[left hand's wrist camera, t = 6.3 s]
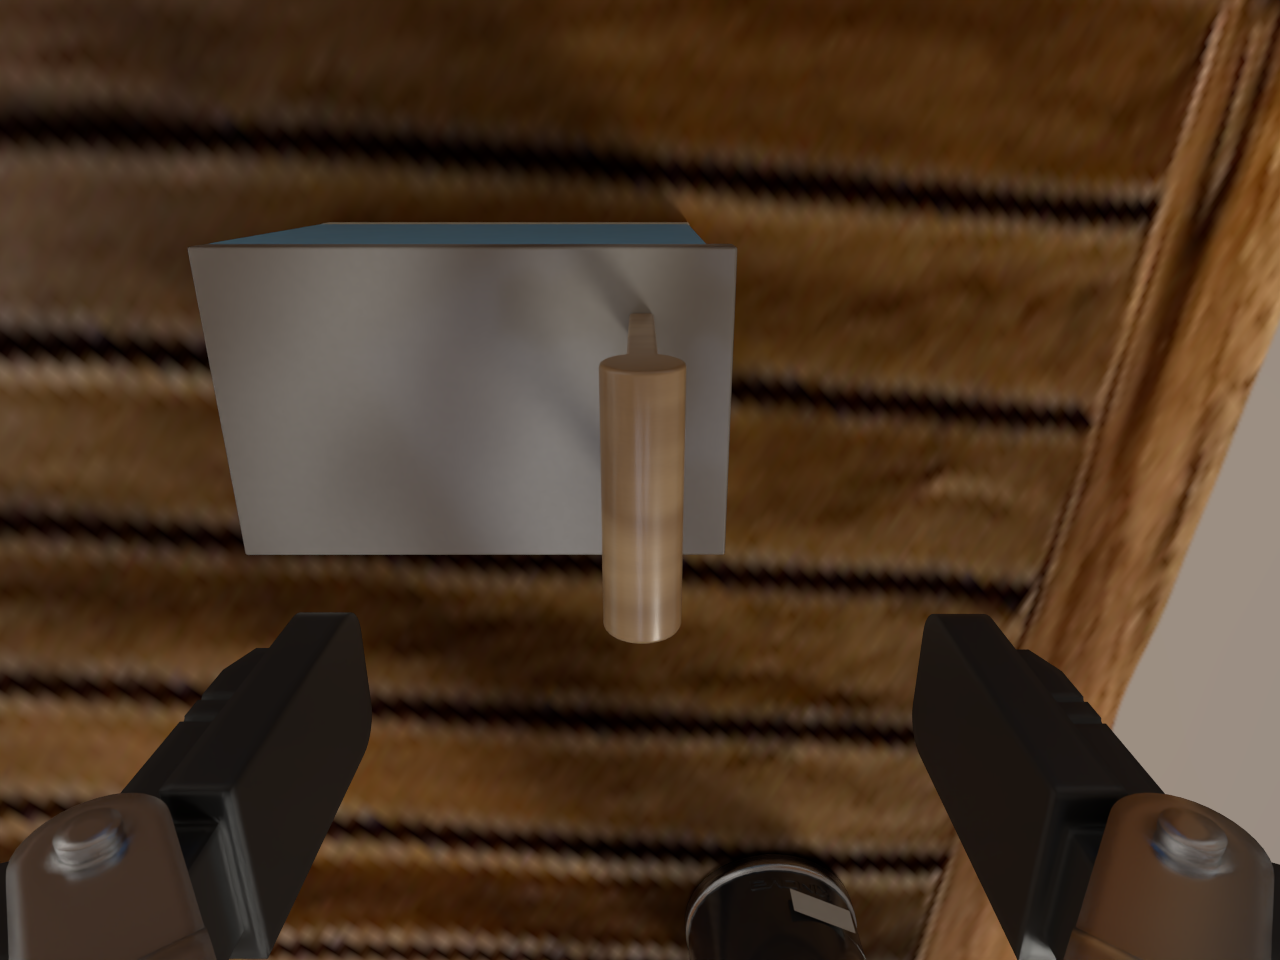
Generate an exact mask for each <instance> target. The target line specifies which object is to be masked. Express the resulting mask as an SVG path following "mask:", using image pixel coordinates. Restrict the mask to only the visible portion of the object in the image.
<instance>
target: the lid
mask: <svg viewBox="0 0 1280 960" xmlns="http://www.w3.org/2000/svg"><path fill="white" fill-rule="evenodd" d="M188 254H189V259H190V264H191V269H192V275H193V280H194V285H195V290H196V296H197V301H198V306H199V311H200V317H201V322H202V327H203V332H204V338H205V343H206V348H207V353H208V359H209V364H210V369H211V374H212V379H213V385H214V390H215V395H216V400H217V406H218V411H219V416H220V421H221V427H222V432H223V437H224V442H225V448H226V453H227V458H228V463H229V469H230V474H231V479H232V484H233V489H234V495H235V500H236V505H237V510H238V516H239V521H240V526H241V531H242V537H243V542H244V547H245V552H246V554H247V555H549V554H602V575H603V623H604V626H605V628H606V630H607V631H608V633H609V634H611V635H612V636H614V637H615V638H617V639H620V640H622V641H626V642H630V643H641V644H644V643H654V642H659V641H662V640H665V639H667V638H669V637H671V636H673V635H674V634H675V633H676V632H677V631H678V629H679V627H680V625H681V602H682V554H724V553H725V533H726V509H727V484H728V460H729V436H730V411H731V387H732V363H733V338H734V314H735V290H736V265H737V248H736V247H735V246H734V245H732V244H203V245H198V246H192V247H188Z"/></svg>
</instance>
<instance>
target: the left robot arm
mask: <svg viewBox="0 0 1280 960" xmlns="http://www.w3.org/2000/svg"><path fill="white" fill-rule="evenodd" d="M371 722H372V707H371V699H370V692H369V685H368V677H367V670H366V663H365V656H364V649H363V642H362V635H361V628H360V624H359V621H358V618H357V617H356V615H355V614H354V613H298V614H296V615H295V616H294V617H293V618H292V619H291V621H290V622H289V623H288V624H287V626H286V627H285V628H284V630H283V631H282V632H281V633H280V635H279V636H278V637H277V639H276V640H275V641H274V642H273V644H272V645H271V646H270V648H256V649H254V650H253V651H251V652H250V653H248V654H247V655H245V656H244V657H242V658H241V659H239V660H237V661H236V662H234V663H233V664H231V665H230V666H228V667H227V668H225V669H224V670H223V671H222V672H221V673H220V674H219V675H218V677H217V678H216V679H215V680H214V681H213V683H212V684H211V685H210V686H209V687H208V689H207V690H206V691H205V692H204V693H203V695H202V700H198V701H197V702H196V703H195V704H194V705H193V707H192V708H191V709H190V710H189V711H188V713H187V714H186V715H185V719H184V722H179V723H178V725H177V726H176V727H175V728H174V729H173V731H172V732H171V733H170V734H169V735H168V737H167V738H166V739H165V740H164V741H163V743H162V744H161V745H160V746H159V747H158V749H157V750H156V751H155V752H154V753H153V755H152V756H151V757H150V758H149V759H148V761H147V762H146V763H145V764H144V765H143V767H142V768H141V769H140V770H139V771H138V773H137V774H136V775H135V776H134V777H133V779H132V780H131V781H130V782H129V783H128V785H127V786H126V787H125V788H124V789H123V791H122V792H121V793H120V794H113V795H108V796H104V797H99V798H96V799H93V800H90V801H87V802H84V803H82V804H79V805H77V806H74V807H72V808H70V809H68V810H66V811H64V812H62V813H60V814H58V815H57V816H55V817H53V818H52V819H50V820H49V821H47V822H45V823H44V824H43V825H41V826H40V827H39V828H37V829H36V830H35V831H34V832H33V833H31V834H30V835H29V836H28V837H27V838H26V839H25V840H24V841H23V842H22V843H21V844H20V846H19V847H18V848H17V849H16V851H15V852H14V854H13V855H12V857H11V858H10V861H9V862H5V863H1V864H0V960H229V959H268V957H269V955H270V952H271V950H272V948H273V946H274V944H275V942H276V940H277V938H278V935H279V933H280V931H281V929H282V927H283V925H284V923H285V921H286V919H287V916H288V914H289V912H290V910H291V908H292V906H293V904H294V902H295V899H296V897H297V895H298V893H299V891H300V889H301V887H302V885H303V883H304V880H305V878H306V876H307V874H308V872H309V870H310V868H311V866H312V863H313V861H314V859H315V857H316V855H317V853H318V851H319V849H320V847H321V844H322V842H323V840H324V838H325V836H326V834H327V832H328V830H329V827H330V825H331V823H332V821H333V819H334V817H335V815H336V813H337V811H338V808H339V806H340V804H341V802H342V800H343V798H344V796H345V794H346V791H347V789H348V787H349V785H350V783H351V781H352V779H353V777H354V775H355V772H356V770H357V768H358V766H359V764H360V762H361V760H362V758H363V755H364V753H365V751H366V748H367V745H368V741H369V737H370V731H371ZM912 722H913V732H914V738H915V742H916V746H917V749H918V752H919V754H920V757H921V759H922V761H923V763H924V765H925V767H926V769H927V771H928V773H929V776H930V778H931V780H932V782H933V784H934V786H935V788H936V790H937V792H938V794H939V796H940V799H941V801H942V803H943V805H944V807H945V809H946V811H947V813H948V815H949V817H950V819H951V822H952V824H953V826H954V828H955V830H956V832H957V834H958V836H959V838H960V840H961V842H962V845H963V847H964V849H965V851H966V853H967V855H968V857H969V859H970V861H971V863H972V865H973V868H974V870H975V872H976V874H977V876H978V878H979V880H980V882H981V884H982V886H983V889H984V891H985V893H986V895H987V897H988V899H989V901H990V903H991V905H992V907H993V909H994V912H995V914H996V916H997V918H998V920H999V922H1000V924H1001V926H1002V928H1003V930H1004V932H1005V935H1006V937H1007V939H1008V941H1009V943H1010V945H1011V947H1012V949H1013V951H1014V953H1015V955H1016V958H1017V960H1280V865H1279V864H1275V863H1272V862H1271V861H1270V858H1269V857H1268V855H1267V854H1266V852H1265V851H1264V849H1263V848H1262V847H1261V846H1260V845H1259V843H1258V842H1257V841H1256V840H1255V839H1254V838H1253V837H1252V836H1251V835H1250V834H1249V833H1247V832H1246V831H1245V830H1244V829H1243V828H1241V827H1240V826H1239V825H1237V824H1236V823H1234V822H1233V821H1231V820H1230V819H1228V818H1227V817H1225V816H1223V815H1221V814H1220V813H1218V812H1216V811H1214V810H1212V809H1210V808H1208V807H1206V806H1203V805H1201V804H1198V803H1196V802H1193V801H1190V800H1187V799H1184V798H1181V797H1176V796H1172V795H1167V794H1165V793H1164V792H1163V791H1162V790H1161V789H1160V787H1159V786H1158V785H1157V784H1156V783H1155V782H1154V780H1153V779H1152V778H1151V777H1150V776H1149V774H1148V773H1147V772H1146V771H1145V770H1144V768H1143V767H1142V766H1141V765H1140V764H1139V763H1138V761H1137V760H1136V759H1135V758H1134V757H1133V755H1132V754H1131V753H1130V752H1129V751H1128V749H1127V748H1126V747H1125V746H1124V745H1123V744H1122V742H1121V741H1120V740H1119V739H1118V738H1117V736H1116V735H1115V734H1114V733H1113V732H1112V730H1111V729H1110V728H1109V727H1108V726H1107V724H1102V722H1101V717H1100V716H1099V715H1098V714H1097V713H1096V711H1095V710H1094V709H1093V708H1092V707H1091V705H1090V704H1089V703H1088V702H1084V701H1083V696H1082V695H1081V694H1080V692H1079V691H1078V690H1077V689H1076V688H1075V686H1074V685H1073V684H1072V683H1071V682H1070V680H1069V679H1068V678H1067V677H1066V676H1065V675H1064V673H1063V672H1062V671H1060V670H1059V669H1057V668H1056V667H1054V666H1053V665H1051V664H1050V663H1048V662H1047V661H1045V660H1044V659H1042V658H1041V657H1039V656H1037V655H1036V654H1034V653H1033V652H1031V651H1030V650H1016V649H1015V648H1014V647H1013V645H1012V644H1011V643H1010V641H1009V640H1008V639H1007V638H1006V636H1005V635H1004V634H1003V632H1002V631H1001V630H1000V629H999V627H998V626H997V625H996V624H995V622H994V621H993V620H992V619H991V618H990V616H988V615H986V614H931V615H930V616H929V617H928V618H927V620H926V623H925V626H924V631H923V638H922V645H921V652H920V659H919V666H918V673H917V680H916V687H915V694H914V701H913V709H912ZM685 926H686V941H687V946H688V949H689V960H866V959H865V956H864V952H863V949H862V945H861V942H860V938H859V935H858V931H857V924H856V918H855V914H854V910H853V907H852V903H851V900H850V897H849V894H848V892H847V890H846V889H845V887H844V885H843V884H842V883H841V881H840V880H839V879H838V878H837V877H836V876H835V875H834V874H832V873H831V872H830V871H829V870H827V869H826V868H824V867H822V866H821V865H819V864H817V863H814V862H812V861H810V860H807V859H804V858H800V857H796V856H790V855H781V854H766V855H757V856H751V857H746V858H743V859H739V860H736V861H734V862H731V863H729V864H727V865H725V866H723V867H721V868H719V869H717V870H716V871H714V872H713V873H712V874H710V875H709V876H708V877H707V878H705V879H704V880H703V881H702V882H701V883H700V884H699V886H698V887H697V888H696V890H695V891H694V893H693V894H692V896H691V898H690V900H689V902H688V905H687V909H686V914H685Z"/></svg>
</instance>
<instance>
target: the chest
mask: <svg viewBox="0 0 1280 960" xmlns="http://www.w3.org/2000/svg"><path fill="white" fill-rule="evenodd" d="M210 244H705V242H704V241H703V240H702V239H701V238H700V237H699V236H698V235H697V234H696V232H695V231H694V230H693V229H692V228H691V227H690V226H689V223H688V222H328V223H323V224H320V225H314V226H309V227H303V228H297V229H291V230H285V231H279V232H274V233H268V234H262V235H256V236H250V237H244V238H239V239H233V240H227V241H221V242H215V243H210Z"/></svg>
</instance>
